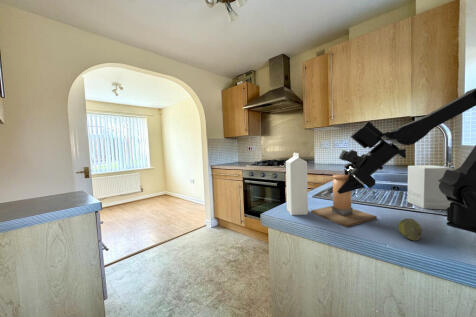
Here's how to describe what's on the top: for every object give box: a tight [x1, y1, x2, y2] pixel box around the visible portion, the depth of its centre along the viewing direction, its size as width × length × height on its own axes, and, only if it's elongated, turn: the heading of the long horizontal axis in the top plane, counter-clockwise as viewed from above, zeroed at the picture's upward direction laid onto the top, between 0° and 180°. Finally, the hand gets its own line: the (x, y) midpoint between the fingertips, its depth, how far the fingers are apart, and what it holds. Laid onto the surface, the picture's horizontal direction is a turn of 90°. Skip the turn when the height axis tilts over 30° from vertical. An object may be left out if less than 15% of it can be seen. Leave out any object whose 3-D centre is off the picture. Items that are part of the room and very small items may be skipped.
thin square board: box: [310, 205, 378, 228], centre depth 65 cm, size 14×14×3 cm
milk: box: [285, 152, 309, 216], centre depth 69 cm, size 6×6×22 cm
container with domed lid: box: [332, 174, 352, 210], centre depth 64 cm, size 6×6×11 cm
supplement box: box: [406, 164, 454, 210], centre depth 71 cm, size 9×9×15 cm
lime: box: [398, 218, 423, 241], centre depth 48 cm, size 4×5×5 cm
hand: (337, 190), depth 65 cm, fingers closed on container with domed lid, 5 cm apart
